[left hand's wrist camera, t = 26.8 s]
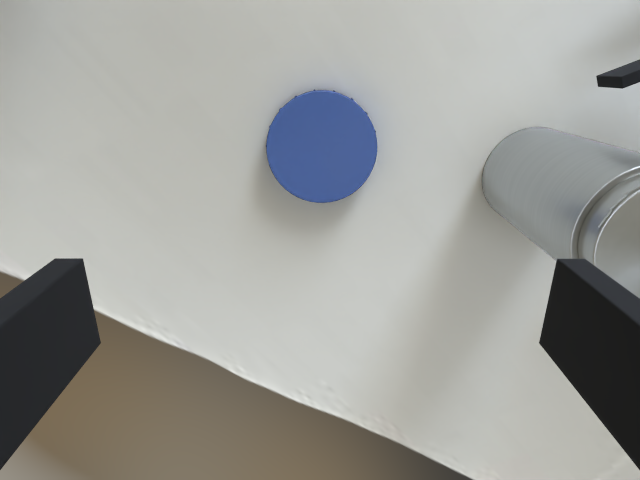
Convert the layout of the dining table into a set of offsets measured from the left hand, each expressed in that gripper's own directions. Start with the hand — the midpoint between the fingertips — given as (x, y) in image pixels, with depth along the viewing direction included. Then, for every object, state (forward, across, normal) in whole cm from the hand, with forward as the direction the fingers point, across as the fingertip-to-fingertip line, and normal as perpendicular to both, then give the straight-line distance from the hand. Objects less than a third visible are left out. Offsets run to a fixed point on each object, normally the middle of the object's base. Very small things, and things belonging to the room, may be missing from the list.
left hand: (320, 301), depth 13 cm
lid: (+26, 0, 0) cm, 26 cm away
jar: (+27, +18, -3) cm, 33 cm away
